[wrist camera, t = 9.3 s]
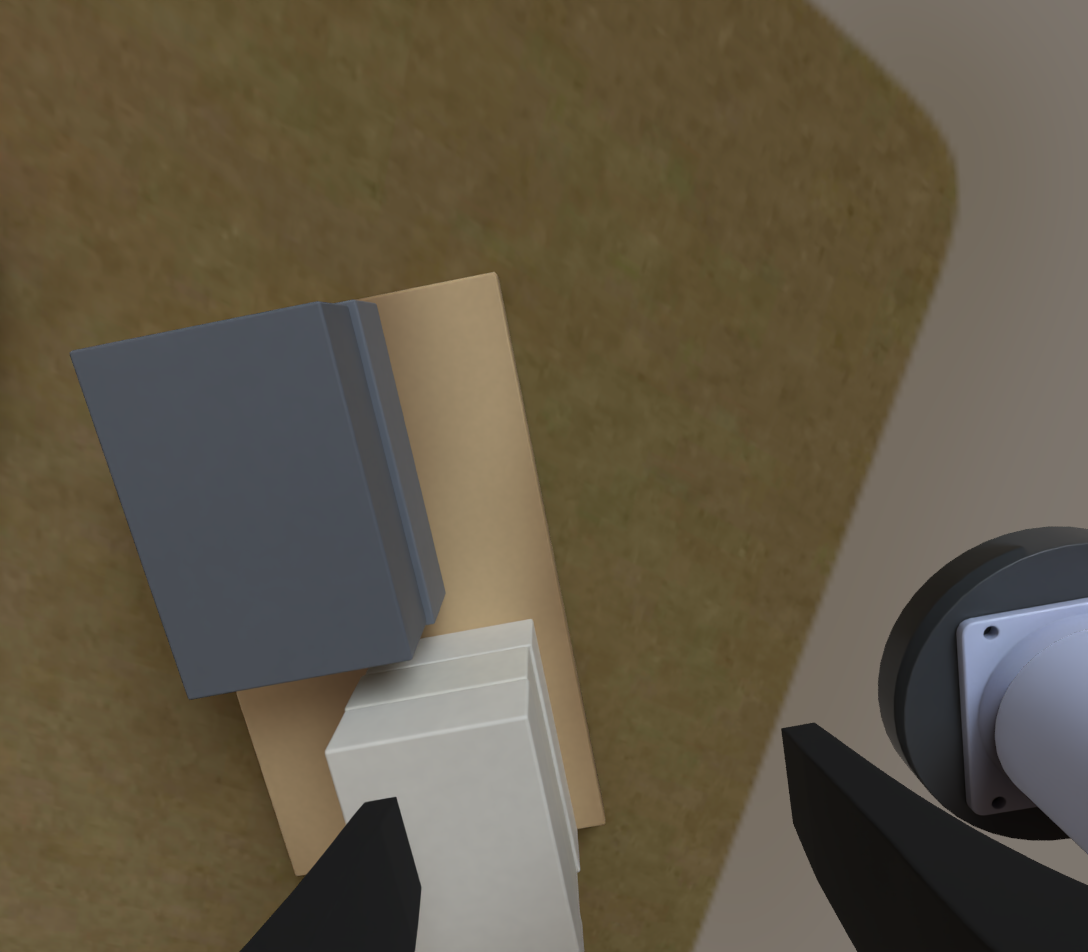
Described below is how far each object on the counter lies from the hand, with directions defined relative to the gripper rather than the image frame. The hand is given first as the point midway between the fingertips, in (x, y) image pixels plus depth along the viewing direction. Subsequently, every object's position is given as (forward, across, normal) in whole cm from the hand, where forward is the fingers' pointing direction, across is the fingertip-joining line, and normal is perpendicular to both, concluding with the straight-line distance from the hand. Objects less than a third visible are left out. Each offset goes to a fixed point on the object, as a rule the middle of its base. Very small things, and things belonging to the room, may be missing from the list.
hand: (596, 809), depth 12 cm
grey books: (+9, +7, -6) cm, 13 cm away
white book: (+5, +4, +4) cm, 8 cm away
